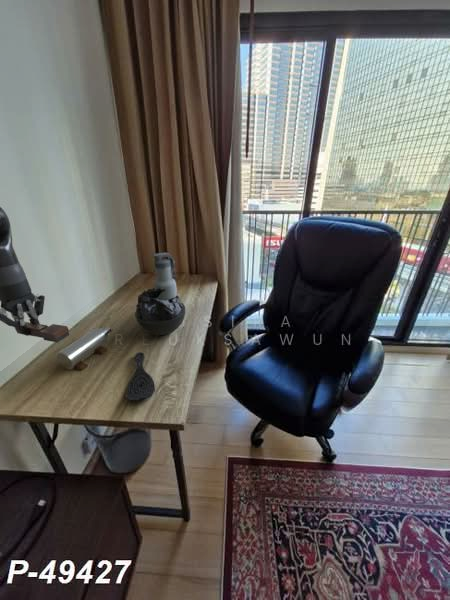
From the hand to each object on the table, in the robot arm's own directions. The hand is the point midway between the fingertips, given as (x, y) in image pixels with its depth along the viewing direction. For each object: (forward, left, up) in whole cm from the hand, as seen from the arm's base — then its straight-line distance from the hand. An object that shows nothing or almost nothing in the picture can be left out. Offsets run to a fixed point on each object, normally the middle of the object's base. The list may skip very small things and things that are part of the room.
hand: (32, 331), depth 77 cm
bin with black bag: (+22, +35, -17) cm, 45 cm away
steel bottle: (+5, +12, -17) cm, 21 cm away
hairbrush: (+30, +9, -17) cm, 36 cm away
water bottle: (+14, +52, -17) cm, 56 cm away
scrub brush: (+4, 0, 0) cm, 4 cm away
